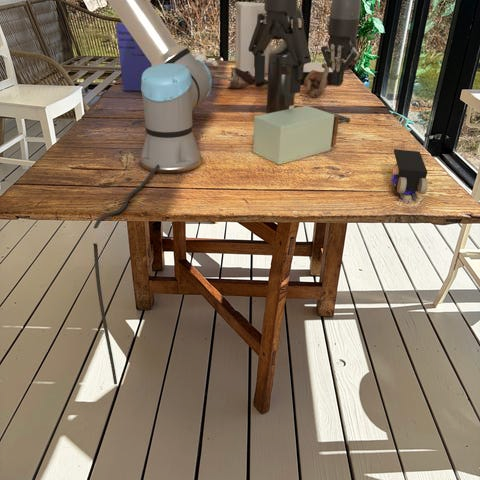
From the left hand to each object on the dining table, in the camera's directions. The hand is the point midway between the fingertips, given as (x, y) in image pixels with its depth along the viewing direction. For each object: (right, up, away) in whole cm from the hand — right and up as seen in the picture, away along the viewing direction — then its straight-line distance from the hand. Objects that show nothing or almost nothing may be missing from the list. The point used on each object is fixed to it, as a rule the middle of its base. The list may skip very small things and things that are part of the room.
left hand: (276, 87), depth 120 cm
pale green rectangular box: (+5, -14, +11) cm, 19 cm away
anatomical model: (+20, +18, +65) cm, 70 cm away
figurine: (-6, +23, +72) cm, 75 cm away
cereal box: (-46, +20, +67) cm, 84 cm away
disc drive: (+22, +32, +87) cm, 96 cm away
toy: (-34, +43, +104) cm, 118 cm away
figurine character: (+29, -27, -10) cm, 41 cm away
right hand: (+17, +4, +11) cm, 21 cm away
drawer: (+10, -11, +14) cm, 21 cm away
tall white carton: (-3, +38, +97) cm, 104 cm away
